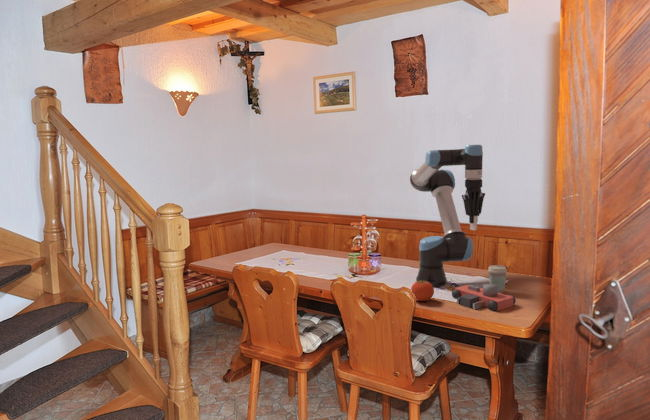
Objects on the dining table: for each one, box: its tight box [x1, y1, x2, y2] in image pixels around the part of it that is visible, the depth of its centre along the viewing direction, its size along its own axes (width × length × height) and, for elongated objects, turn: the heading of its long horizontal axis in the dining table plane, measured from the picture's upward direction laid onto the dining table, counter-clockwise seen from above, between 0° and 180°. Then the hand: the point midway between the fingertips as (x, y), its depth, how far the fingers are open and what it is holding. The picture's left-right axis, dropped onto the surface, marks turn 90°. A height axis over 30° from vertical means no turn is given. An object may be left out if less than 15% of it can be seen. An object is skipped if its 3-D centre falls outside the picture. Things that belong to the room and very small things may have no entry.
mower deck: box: [451, 283, 517, 312], centre depth 210 cm, size 24×13×8 cm, turn 32°
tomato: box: [410, 279, 435, 302], centre depth 214 cm, size 10×10×10 cm
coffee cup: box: [487, 264, 508, 294], centre depth 223 cm, size 8×8×12 cm
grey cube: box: [459, 294, 479, 309], centre depth 206 cm, size 5×6×4 cm
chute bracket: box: [456, 297, 484, 310], centre depth 207 cm, size 10×6×2 cm, turn 32°
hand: (473, 229), depth 219 cm, fingers closed
